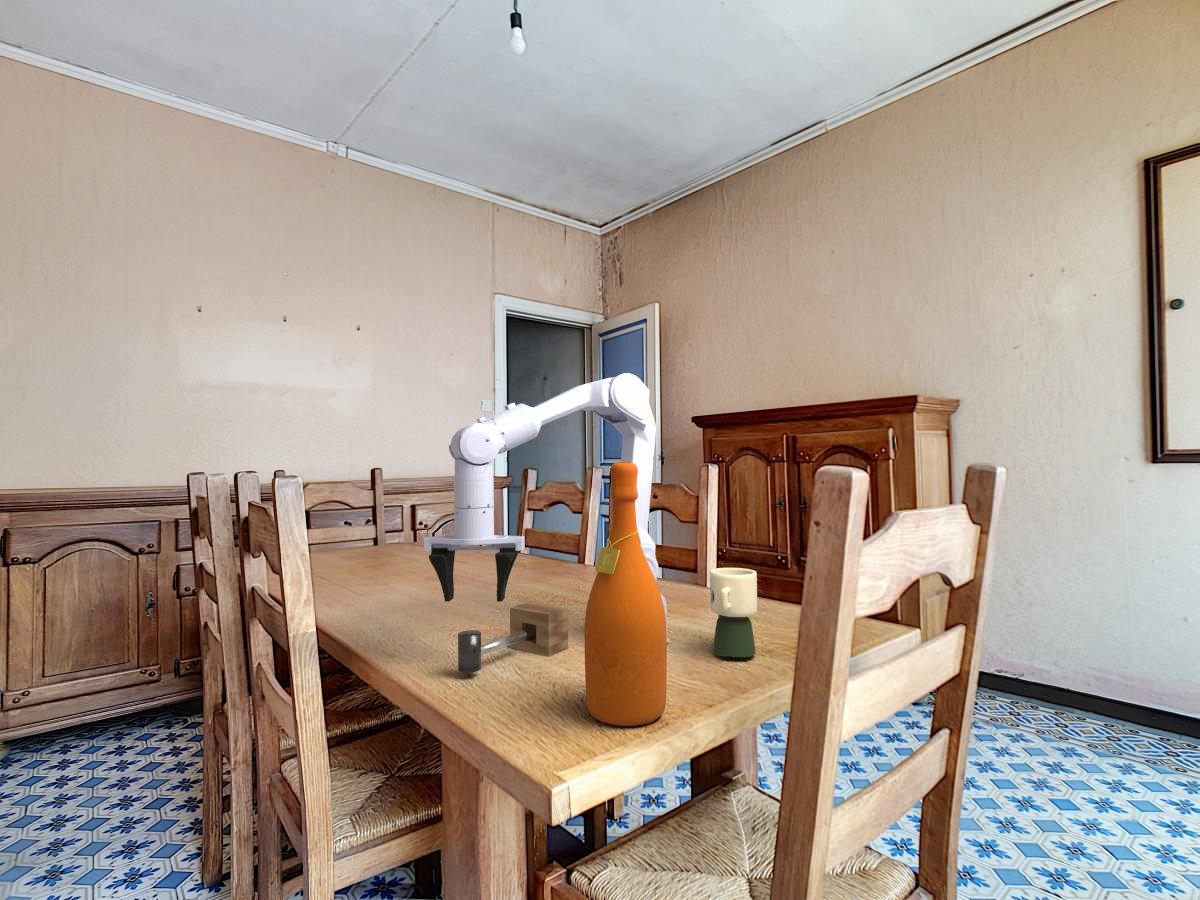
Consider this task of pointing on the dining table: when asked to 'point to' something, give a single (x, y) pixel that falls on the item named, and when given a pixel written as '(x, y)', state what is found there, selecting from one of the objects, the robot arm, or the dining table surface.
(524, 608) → the eye block
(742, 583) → the character mug
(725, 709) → the dining table surface
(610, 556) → the wine bottle
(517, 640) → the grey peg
